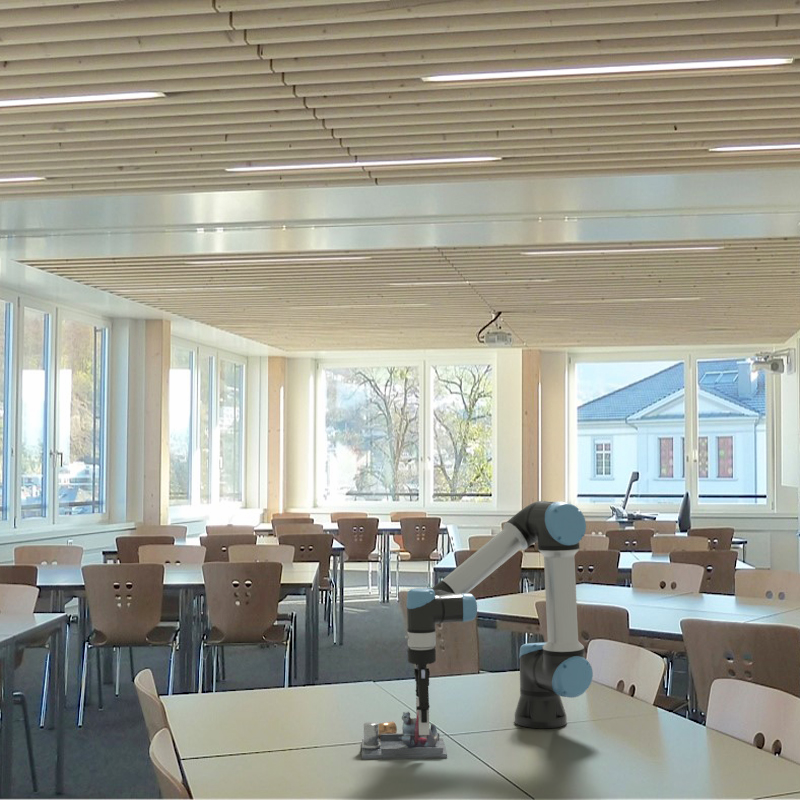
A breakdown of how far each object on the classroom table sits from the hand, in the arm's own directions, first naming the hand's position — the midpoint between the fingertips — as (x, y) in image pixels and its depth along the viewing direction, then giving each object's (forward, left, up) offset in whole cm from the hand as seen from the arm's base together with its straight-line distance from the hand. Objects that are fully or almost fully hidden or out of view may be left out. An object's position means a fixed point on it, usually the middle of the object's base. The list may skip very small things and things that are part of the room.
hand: (422, 728), depth 287 cm
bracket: (+5, 0, -6) cm, 8 cm away
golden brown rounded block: (+10, -16, -6) cm, 20 cm away
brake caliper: (+1, 0, -5) cm, 5 cm away
